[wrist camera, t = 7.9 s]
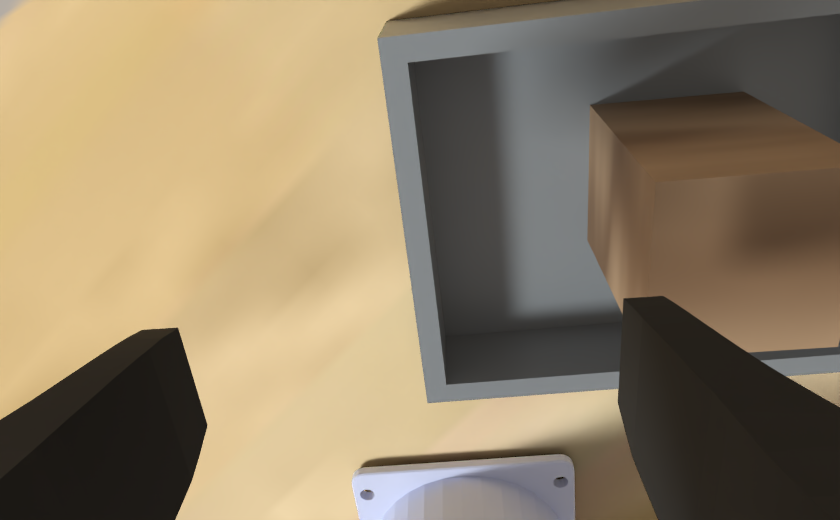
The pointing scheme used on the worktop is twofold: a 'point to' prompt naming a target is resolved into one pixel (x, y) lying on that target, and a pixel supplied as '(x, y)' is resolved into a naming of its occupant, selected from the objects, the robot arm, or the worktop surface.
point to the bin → (561, 166)
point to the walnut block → (720, 215)
